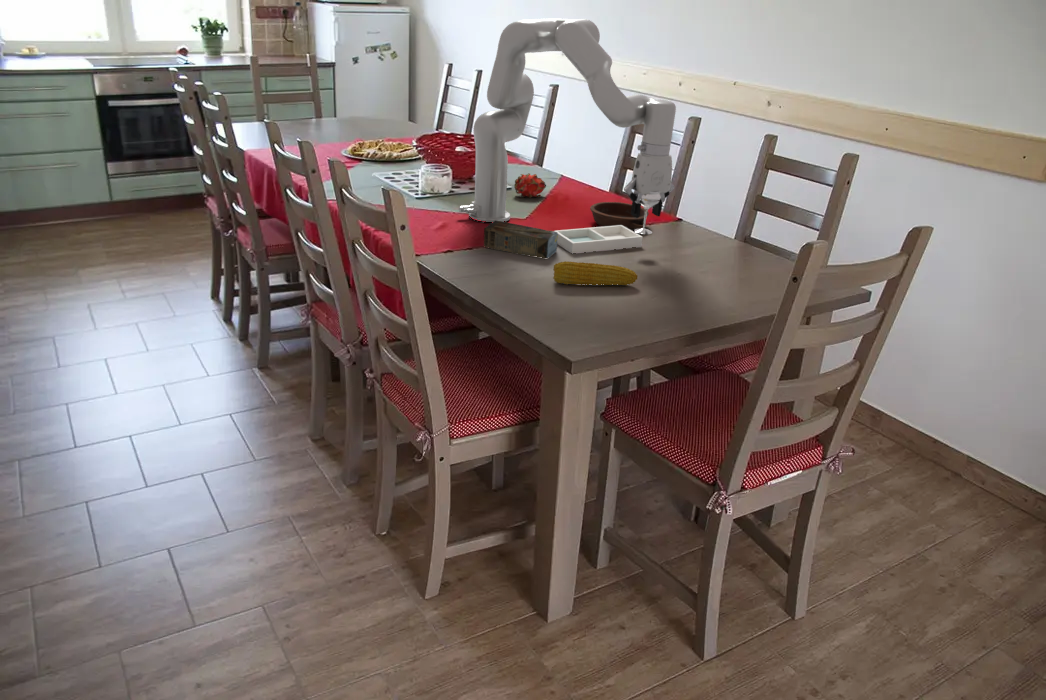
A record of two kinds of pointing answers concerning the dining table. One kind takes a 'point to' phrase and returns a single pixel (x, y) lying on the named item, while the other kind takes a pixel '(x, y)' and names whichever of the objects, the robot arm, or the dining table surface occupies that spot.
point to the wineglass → (648, 202)
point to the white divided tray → (598, 239)
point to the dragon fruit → (529, 185)
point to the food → (592, 274)
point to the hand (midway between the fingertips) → (645, 215)
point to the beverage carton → (520, 239)
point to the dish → (617, 215)
